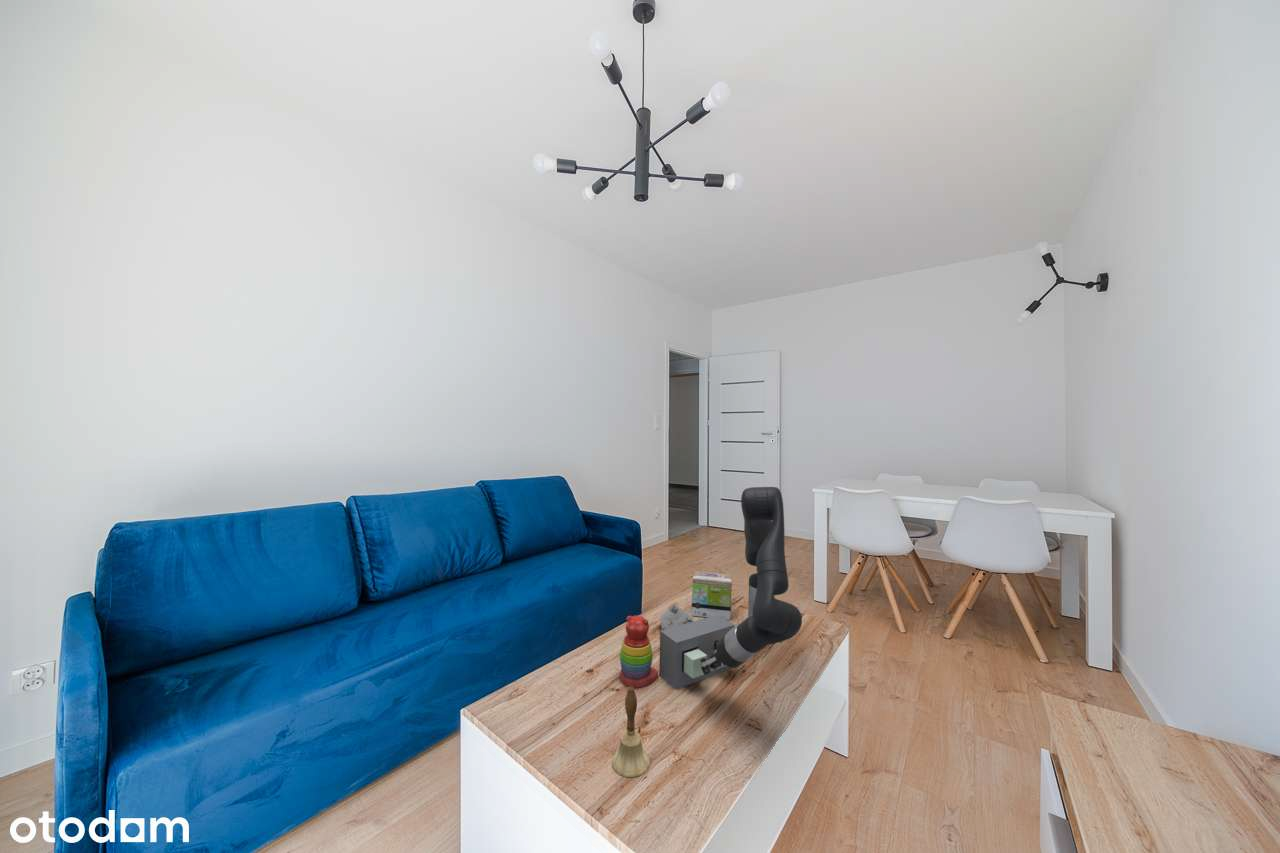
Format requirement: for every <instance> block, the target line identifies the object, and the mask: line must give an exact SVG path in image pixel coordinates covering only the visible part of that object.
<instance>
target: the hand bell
mask: <svg viewBox="0 0 1280 853" xmlns="http://www.w3.org/2000/svg"><path fill="white" fill-rule="evenodd" d="M624 706H625V708H624V709H625V713H626V716H627V718H626V719H627V722H626V723H627V724H626V731H624V733H622V735H621V737H620V741H619V747H618V749H617V750H616V751H615V752H614V753H613V756H612V758H611V766H612V769H613V771H614V772H615V773H617V774H618V775H620V776H622V777H625V778H636V777H640V776H642V775H643V774H645V773H646V772H647V771H648V770H649V768H650V765H651V760H650V756H649V755H648V753H647V752H646V751H645V749H644V748H643V742H642V737H641V734H640V733H639V732H637V731H636V730H635V729H636V727H635V724H636V722H635V716H636V712H637V706H638V698H637V694H636V692H635V687H629V686H628V688H627V692H626V694H625V700H624Z"/></svg>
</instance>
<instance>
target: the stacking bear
mask: <svg viewBox="0 0 1280 853" xmlns="http://www.w3.org/2000/svg"><path fill="white" fill-rule="evenodd" d="M649 630H650V624H649V621H648V619H647V618H645V617H644V616H641V615H633V616H632V615H628V616H627V617H626V624H625V632H626V635H625V636H624V638H623V641H622V644H621V648H620V653H619V662H620V668H621V669H620V673H619V679H620V682H621V683H622V684H623V685H625V686H627V687H628V688H629V687H634V688H643V687H646V686H648V685H651V683H653V682H655V680H657V678H658V677H659V672H658V670H657V669H656V668H654V667H652V663H653V648H652V644H651V641H650V637H649V636H648V633H649Z"/></svg>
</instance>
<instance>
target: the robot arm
mask: <svg viewBox="0 0 1280 853" xmlns="http://www.w3.org/2000/svg"><path fill="white" fill-rule="evenodd" d="M740 500H741V501H740V505H741V511H742V516H743V521H744V524H743V525H744V528H743V529H744V530H743V531H744V538H745V548H744V549H745V550H744V553H745V560H746V562H747V564H748V565H750V566H754V567H756V572H755V573H752V574H751V575H749V577H748V605H747V607H748V608H747V617H746V618H745V619H744V620H743V621H742V622H740V623H738V624H737V625H735V627H734V628H732V629H731V630H730V631H729V632H727V633H726V634H725V635H724V636H722V637H721V638H720V639H719V640H718V642H717V647H716V650H715V651H713V654H712V655H710V656H709V660H707V658H702V659H701V660H700V661H701V663H702V665H703V666H702V668H701V669H702V671H703V673H704V675H707V674H709V673H711V672H712V671H714V670H717V669H719V668H722V667H725V666H728V667H731V668H732V669H735V668H739V667H740V666H741V665H743V664H745V663H746V662H747V661H749V660H750V659H752V658H753V657H754V656H755V655H756V654H757V653H758V652H759V651H761V650H763V649H764V648H765V647H767V646H769V645H774V644H778V643H781V642H784V641H787V640H790V639H792V638H793V637H795V635H797V634H798V633H799V631H800V629H801V628H802V624H803V617H802V613H801V611H800V610H799V609H798V607H797V606H795V605H794V604H792V603H789V602H787V601H784V600H780V599H777V598H776V596H780V595H783V594H785V593H786V592H787V591H788V589H789V577H788V569H787V562H786V555H785V514H784V512H785V511H784V499H783V495H782V492H781V490H780V489H779V488H778V487H776V486H758V487H755V486H754V487H747V488H745V489H743V492H742V494H741V498H740Z"/></svg>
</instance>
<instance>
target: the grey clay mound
mask: <svg viewBox="0 0 1280 853" xmlns="http://www.w3.org/2000/svg"><path fill="white" fill-rule="evenodd" d="M659 620H660V628H661V630H665V629H668V628H672V627H676V626H679V625H683V624H686V623H690V622H693V621H695V620H694V619H693V616H692V615H690V614H689V613H688V612H686V611H685V610H684V609H682V608H679V607H678V604H676V603H675V604H673V605H670V608H668V609H667V610H666V611H665V612H664V613H663V614H661V615H660V617H659Z"/></svg>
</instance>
